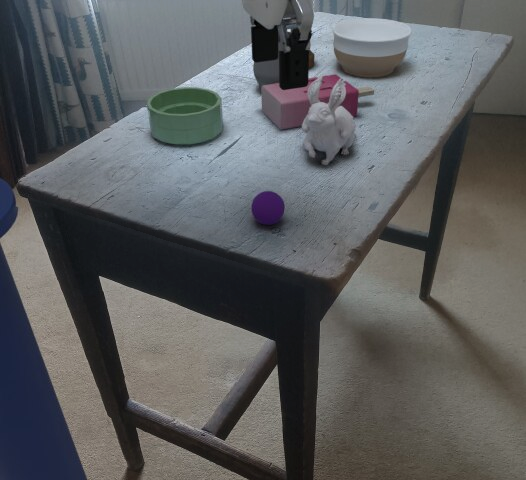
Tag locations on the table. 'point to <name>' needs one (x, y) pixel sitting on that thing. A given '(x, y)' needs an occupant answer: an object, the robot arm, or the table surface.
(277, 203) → the ball
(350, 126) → the figurine
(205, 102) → the green bowl
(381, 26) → the bowl
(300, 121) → the popsicle
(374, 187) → the table surface
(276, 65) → the cup
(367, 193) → the table surface
